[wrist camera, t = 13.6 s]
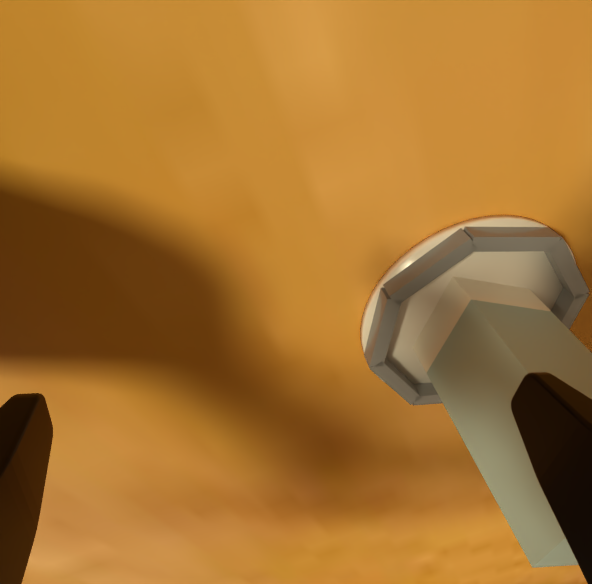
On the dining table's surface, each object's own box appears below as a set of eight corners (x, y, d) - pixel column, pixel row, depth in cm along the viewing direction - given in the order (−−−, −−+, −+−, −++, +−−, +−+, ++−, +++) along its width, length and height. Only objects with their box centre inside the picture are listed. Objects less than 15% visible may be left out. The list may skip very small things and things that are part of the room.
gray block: (412, 347, 27) (532, 567, 18) (452, 276, 24) (619, 489, 15) (484, 355, 29) (630, 561, 19) (529, 288, 26) (725, 489, 16)
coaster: (343, 395, 29) (350, 414, 28) (386, 213, 22) (397, 228, 21) (521, 383, 32) (534, 400, 31) (611, 216, 25) (632, 230, 23)
